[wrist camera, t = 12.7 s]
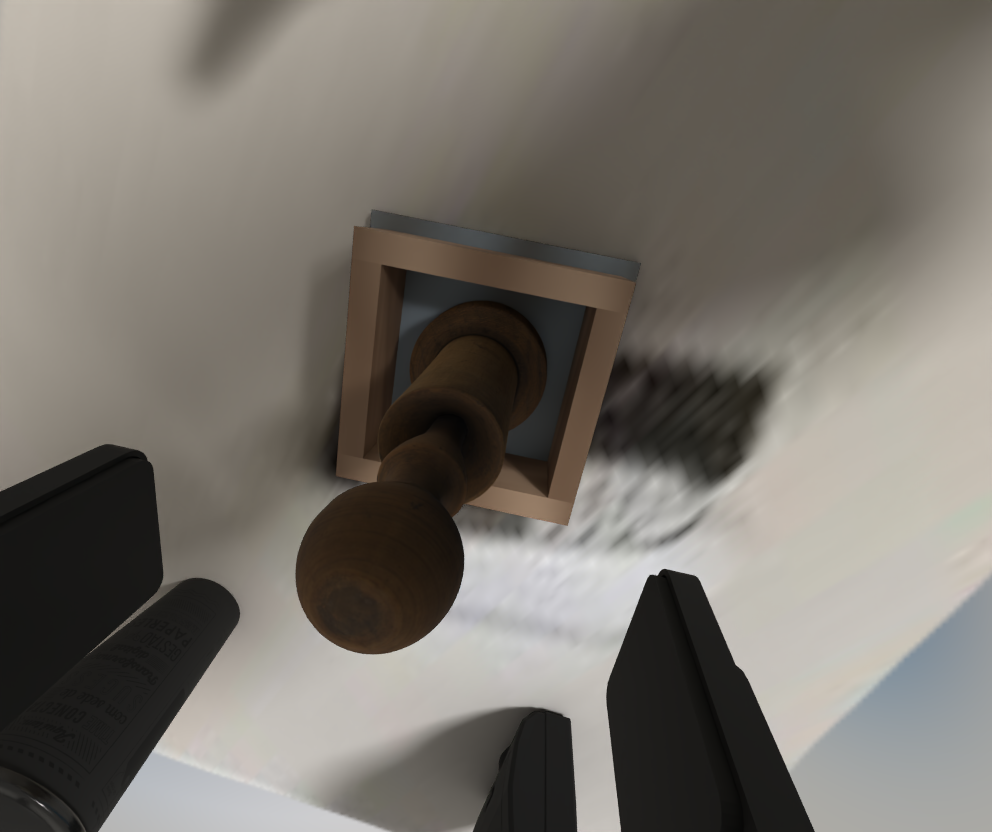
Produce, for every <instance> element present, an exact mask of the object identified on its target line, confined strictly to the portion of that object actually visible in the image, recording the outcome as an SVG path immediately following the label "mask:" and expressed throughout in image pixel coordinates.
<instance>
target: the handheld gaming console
mask: <svg viewBox="0 0 992 832" xmlns="http://www.w3.org/2000/svg"><path fill="white" fill-rule="evenodd" d="M473 832H577V815H576V796H575V781H574V765H573V749H572V733H571V721H570V718H566V717H563V716H560V715H557V714H553V713H550V712H547V711H546V713H541V712H533V713H531V714H530V715H529V716H527V717H526V718H524V719H523V720H522V722H521V724H520V727H519V729H518V731H517V733H516V735H515V738H514V740H513V742H512V744H511V745H510V746H509V747H508V748H507V749H506V750H505V751H504V752H503V754H502V755H501V757H500V761H499V774H498V776H497V778H496V780H495V782H494V784H493V787H492V789H491V791H490V793H489V795H488V797H487V799H486V802H485V804H484V806H483V808H482V810H481V813H480V815H479V817H478V820H477V822H476V825H475V827H474V830H473Z"/></svg>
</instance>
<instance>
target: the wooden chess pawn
mask: <svg viewBox="0 0 992 832" xmlns="http://www.w3.org/2000/svg"><path fill="white" fill-rule="evenodd" d="M409 371H410V381H411V385H410V386H409V387H408V388H407V389H406V391H405V392H404V393H403V394H402V395H401V396H400V397H399V398H398V399H397V400H396V401H395V402H394V403H393V404H392V405H391V406H390V407H389V409H388V410H387V412H386V413H385V415H384V417H383V419H382V421H381V424H380V427H379V432H378V440H377V443H378V453H379V457H380V460H381V465H380V467H379V470H378V474H377V482H372V483H367V484H363V485H360V486H357V487H354V488H352V489H349V490H347V491H345V492H344V493H342V494H340V495H339V496H337V497H336V498H335V499H333V500H332V501H331V502H330V503H329V504H328V505H327V506H326V507H325V508H324V509H323V510H322V511H321V512H320V513H319V514H318V515H317V517H316V518H315V519H314V520H313V521H312V523H311V524H310V526H309V528H308V530H307V531H306V533H305V535H304V537H303V540H302V542H301V545H300V548H299V552H298V556H297V562H296V587H297V592H298V597H299V600H300V603H301V606H302V608H303V610H304V612H305V614H306V616H307V618H308V619H309V621H310V622H311V623H312V625H313V626H314V627H315V628H316V630H317V631H318V632H319V633H320V634H321V635H323V636H324V637H325V638H326V639H328V640H329V641H331V642H332V643H334V644H336V645H337V646H339V647H342V648H344V649H346V650H349V651H353V652H357V653H362V654H384V653H390V652H393V651H397V650H400V649H403V648H405V647H407V646H410V645H412V644H414V643H415V642H417V641H419V640H420V639H422V638H423V637H425V636H426V635H427V634H428V633H430V632H431V631H432V630H433V629H434V628H435V627H436V626H437V625H438V624H439V623H440V622H441V620H442V619H443V618H444V617H445V615H446V614H447V613H448V611H449V610H450V608H451V606H452V605H453V603H454V601H455V599H456V596H457V594H458V592H459V589H460V585H461V582H462V577H463V571H464V550H463V545H462V540H461V537H460V533H459V531H458V528H457V526H456V524H455V522H454V520H453V519H452V517H453V516H454V515H456V514H457V513H458V511H459V510H460V509H461V507H462V505H463V504H466V503H469V502H471V501H473V500H475V499H476V498H478V497H480V496H481V495H482V494H484V493H485V492H486V491H487V490H488V489H489V488H490V487H491V486H492V485H493V483H494V482H495V481H496V479H497V478H498V476H499V474H500V472H501V469H502V466H503V463H504V458H505V452H506V445H507V438H508V432H509V431H510V430H512V429H514V428H515V427H517V426H518V425H520V424H521V423H523V422H524V421H525V420H526V419H527V418H528V417H529V416H530V415H531V414H532V413H533V412H534V410H535V409H536V407H537V406H538V404H539V402H540V400H541V398H542V396H543V393H544V390H545V386H546V380H547V357H546V352H545V348H544V345H543V342H542V340H541V338H540V336H539V334H538V332H537V331H536V329H535V328H534V326H533V325H532V324H531V323H530V322H529V321H528V320H527V319H526V318H525V317H524V316H523V315H522V314H520V313H519V312H518V311H516V310H514V309H513V308H511V307H509V306H506V305H504V304H501V303H498V302H493V301H470V302H465V303H462V304H459V305H456V306H454V307H452V308H450V309H448V310H446V311H445V312H443V313H442V314H440V315H439V316H438V317H437V318H435V319H434V320H433V321H432V322H431V323H430V324H429V325H428V326H427V327H426V328H425V329H424V330H423V331H422V333H421V334H420V336H419V337H418V339H417V341H416V343H415V345H414V348H413V351H412V354H411V359H410V369H409Z"/></svg>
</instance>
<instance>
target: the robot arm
mask: <svg viewBox="0 0 992 832" xmlns="http://www.w3.org/2000/svg"><path fill="white" fill-rule="evenodd" d="M162 580H163V565H162V555H161V544H160V534H159V524H158V514H157V503H156V493H155V483H154V473H153V467H152V464H151V463H150V462H148V461H147V457H146V456H145V454H144V453H142V452H140V451H138V450H134V449H129V448H125V447H120V446H116V445H110V444H105V445H102V446H99V447H97V448H94V449H92V450H90V451H88V452H86V453H84V454H81V455H79V456H77V457H75V458H73V459H71V460H68V461H66V462H64V463H62V464H60V465H58V466H55V467H53V468H51V469H49V470H47V471H45V472H42V473H40V474H38V475H36V476H34V477H31V478H29V479H27V480H25V481H23V482H21V483H18V484H16V485H14V486H12V487H10V488H8V489H5V490H3V491H1V492H0V732H1V731H2V730H3V729H5V728H6V727H7V726H8V725H9V724H10V723H11V722H12V721H14V720H15V719H16V718H17V717H18V716H19V715H20V714H21V713H22V712H24V711H25V710H26V709H27V708H28V707H29V706H30V705H31V704H33V703H34V702H35V701H36V700H37V699H38V698H39V697H40V696H41V695H43V694H44V693H45V692H46V691H47V690H48V689H49V688H50V687H52V686H53V685H54V684H55V683H56V682H57V681H58V680H59V679H60V678H62V677H63V676H64V675H65V674H66V673H67V672H68V671H69V670H71V669H72V668H73V667H74V666H75V665H76V664H77V663H78V662H79V661H81V660H82V659H83V658H84V657H85V656H86V655H87V654H88V653H90V652H91V651H92V650H93V649H94V648H95V647H96V646H97V645H98V644H100V643H101V642H102V641H103V640H104V639H105V638H106V637H107V636H108V635H110V634H111V633H112V632H113V631H114V630H115V629H116V628H117V627H119V626H120V625H121V624H122V623H123V622H124V621H125V620H126V619H127V618H129V617H130V616H131V615H132V614H133V613H134V612H135V611H136V610H138V609H139V608H140V607H141V606H142V605H143V604H144V603H145V602H146V601H148V600H149V599H150V598H151V597H152V596H153V595H154V594H155V593H156V592H157V590H158V589H159V587H160V585H161V583H162ZM606 700H607V711H608V720H609V728H610V737H611V746H612V755H613V763H614V772H615V781H616V790H617V798H618V807H619V816H620V825H621V832H815V831H814V829H813V827H812V824H811V822H810V820H809V817H808V815H807V813H806V811H805V808H804V806H803V804H802V802H801V799H800V797H799V795H798V792H797V790H796V788H795V786H794V784H793V781H792V779H791V777H790V774H789V772H788V770H787V767H786V765H785V763H784V761H783V758H782V756H781V754H780V752H779V749H778V747H777V745H776V742H775V740H774V738H773V736H772V733H771V731H770V729H769V726H768V724H767V722H766V720H765V717H764V715H763V713H762V711H761V708H760V706H759V704H758V701H757V699H756V697H755V695H754V692H753V690H752V688H751V686H750V683H749V681H748V679H747V677H746V676H745V674H744V672H743V671H742V670H741V669H740V668H739V667H737V666H736V665H735V662H734V660H733V658H732V655H731V653H730V651H729V648H728V646H727V644H726V641H725V639H724V637H723V634H722V632H721V630H720V627H719V625H718V622H717V620H716V618H715V615H714V613H713V611H712V608H711V606H710V604H709V601H708V599H707V597H706V594H705V592H704V590H703V587H702V585H701V583H700V581H699V579H698V577H696V576H694V575H689V574H685V573H680V572H676V571H672V570H667V569H663V570H661V571H660V572H659V574H658V576H656V575H650V576H649V577H648V579H647V581H646V583H645V586H644V588H643V591H642V594H641V596H640V599H639V602H638V604H637V607H636V609H635V612H634V615H633V617H632V620H631V623H630V625H629V628H628V630H627V633H626V636H625V638H624V641H623V644H622V646H621V649H620V652H619V654H618V657H617V659H616V662H615V665H614V667H613V670H612V673H611V675H610V678H609V681H608V686H607V695H606Z"/></svg>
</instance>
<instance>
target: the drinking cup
mask: <svg viewBox="0 0 992 832" xmlns="http://www.w3.org/2000/svg"><path fill="white" fill-rule="evenodd" d="M239 617H240V611H239V607H238V604H237V602H236V600H235V599H234V597H233V596H232V595H231V594H230V593H229V592H228V591H227V590H226V589H225V588H224V587H222V586H221V585H219V584H217V583H215V582H213V581H210V580H206V579H200V578H194V579H189V580H186V581H183V582H182V583H180V584H179V585H178V586H176V587H175V588H174V589H172V590H171V591H170V592H168V593H167V594H166V595H165V596H163V597H162V598H161V599H159V600H158V601H157V602H155V603H154V604H153V605H152V606H150V607H149V608H148V609H146V610H145V611H144V612H142V613H141V614H140V615H139V616H137V617H136V618H135V619H133V620H132V621H131V622H130V623H128V624H127V625H126V626H124V627H123V628H122V629H120V630H119V631H118V632H117V633H115V634H114V635H113V636H111V637H110V638H109V639H107V640H106V641H105V642H104V643H102V644H101V645H100V646H98V647H97V648H96V649H94V650H93V651H92V652H91V653H89V654H88V655H87V656H85V657H84V658H83V659H82V660H81V661H79V662H78V663H77V664H76V665H75V666H74V667H73V668H72V669H71V670H69V671H68V672H67V673H66V674H65V675H64V676H63V677H62V678H60V679H59V680H58V681H57V682H56V683H55V684H54V685H53V686H52V687H50V688H49V689H48V690H47V691H46V692H45V693H44V694H43V695H41V696H40V697H39V698H38V699H37V700H36V701H35V702H34V703H33V704H31V705H30V706H29V707H28V708H27V709H26V710H25V711H24V712H22V713H21V714H20V715H19V716H18V717H17V718H16V719H15V720H14V721H12V722H11V723H10V724H9V725H8V726H7V727H6V728H5V729H3V730H2V731H1V732H0V832H98V831H99V829H100V828H101V826H102V825H103V823H104V822H105V820H106V819H107V818H108V816H109V814H110V813H111V812H112V810H113V809H114V807H115V806H116V804H117V803H118V801H119V800H120V798H121V797H122V795H123V793H124V792H125V791H126V789H127V788H128V786H129V785H130V783H131V782H132V780H133V779H134V777H135V776H136V774H137V773H138V771H139V770H140V768H141V767H142V765H143V764H144V762H145V761H146V759H147V758H148V756H149V755H150V753H151V752H152V750H153V749H154V747H155V746H156V744H157V743H158V741H159V740H160V738H161V737H162V736H163V734H164V733H165V731H166V730H167V728H168V727H169V725H170V724H171V722H172V721H173V719H174V718H175V716H176V715H177V713H178V712H179V710H180V709H181V707H182V706H183V704H184V703H185V701H186V700H187V698H188V697H189V695H190V694H191V692H192V691H193V689H194V688H195V686H196V685H197V683H198V682H199V680H200V679H201V677H202V676H203V674H204V673H205V671H206V670H207V668H208V667H209V665H210V664H211V662H212V661H213V659H214V658H215V656H216V655H217V653H218V652H219V650H220V649H221V648H222V646H223V645H224V643H225V642H226V640H227V639H228V637H229V636H230V634H231V633H232V631H233V630H234V628H235V627H236V625H237V623H238V621H239Z"/></svg>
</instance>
